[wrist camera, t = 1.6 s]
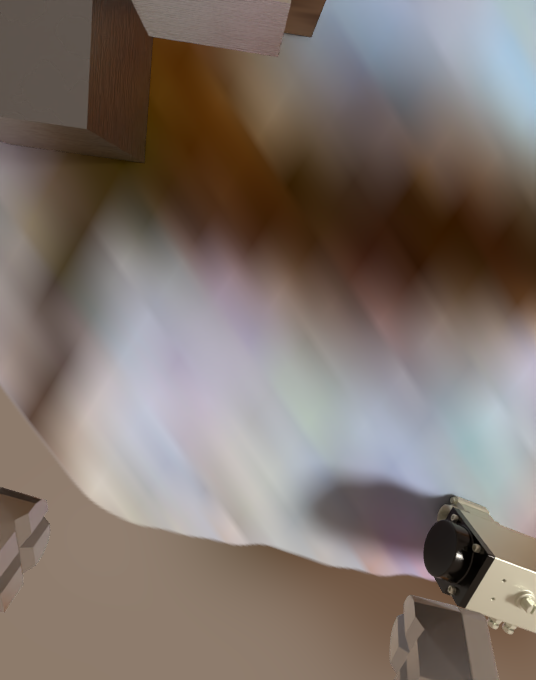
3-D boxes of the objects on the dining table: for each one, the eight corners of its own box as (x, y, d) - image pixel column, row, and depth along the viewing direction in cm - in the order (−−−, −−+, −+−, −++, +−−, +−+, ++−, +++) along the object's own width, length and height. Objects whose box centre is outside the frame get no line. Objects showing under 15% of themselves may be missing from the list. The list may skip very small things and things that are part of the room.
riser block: (158, -45, 35) (102, -229, 21) (144, 163, 39) (86, 129, 24) (12, -70, 35) (-154, -281, 20) (9, 144, 38) (-135, 97, 23)
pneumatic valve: (418, 472, 46) (478, 558, 34) (524, 514, 48) (616, 609, 36) (391, 522, 47) (441, 621, 36) (496, 561, 49) (577, 668, 37)
